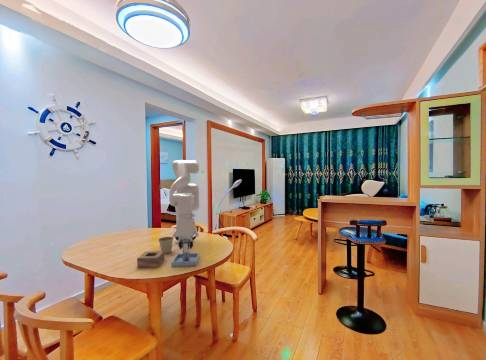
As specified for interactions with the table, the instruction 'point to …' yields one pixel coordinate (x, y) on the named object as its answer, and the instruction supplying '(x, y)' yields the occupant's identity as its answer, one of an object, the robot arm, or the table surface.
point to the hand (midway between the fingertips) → (186, 247)
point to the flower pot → (166, 244)
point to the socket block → (150, 259)
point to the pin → (186, 249)
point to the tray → (179, 261)
